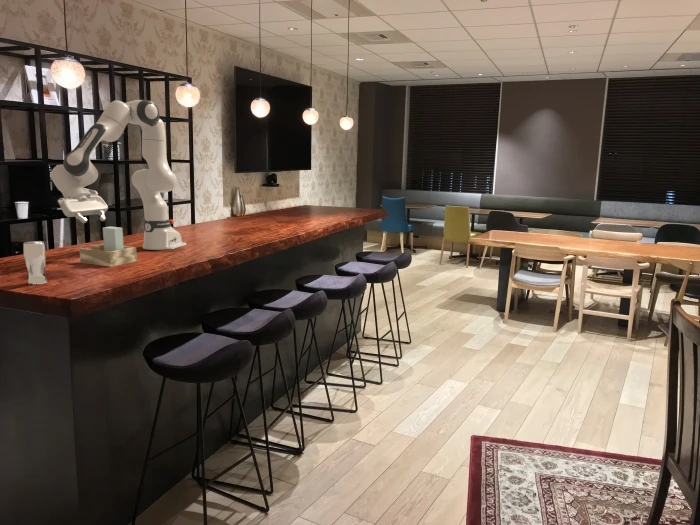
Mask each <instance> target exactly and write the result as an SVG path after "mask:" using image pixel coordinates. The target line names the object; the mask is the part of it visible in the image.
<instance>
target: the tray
mask: <svg viewBox="0 0 700 525" xmlns="http://www.w3.org/2000/svg"><path fill="white" fill-rule="evenodd" d="M123 246H124V249H122V250H116V251H111V252H109V251H101V250H93V249H90V248H83V247H80V248H79V261H80V262H79V263H82V264H89V265H96V266H104V267H109V268H110V267H111V268H112V267H117V266H121V265H126V264H129V263H133V262H137V261H138V256H137V255H138V254H137V247H136V246H129V245H127V246H126V245H123Z"/></svg>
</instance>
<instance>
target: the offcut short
mask: <svg viewBox="0 0 700 525" xmlns="http://www.w3.org/2000/svg"><path fill="white" fill-rule="evenodd" d="M89 247H90V248H89V249H93V250H101V251H104V242H102V243H96V244H91V245H89Z"/></svg>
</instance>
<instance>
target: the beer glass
mask: <svg viewBox="0 0 700 525" xmlns="http://www.w3.org/2000/svg"><path fill="white" fill-rule="evenodd" d="M46 255H47V253H46V247H45V242H44V241H41V240H38V241H36V240H35V241H34V240H33V241H27V242H23V258H24V262H25V266H26V269H27V274H28V279H27V283H28V285H31V284H32V285H34V286H35V285H36V284H37V285H43V284H46V283H48V280H47V276H46V263H47V262H46V261H47V256H46ZM32 285H31V286H32ZM37 285H36V286H37Z"/></svg>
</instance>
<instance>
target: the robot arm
mask: <svg viewBox="0 0 700 525" xmlns="http://www.w3.org/2000/svg"><path fill="white" fill-rule="evenodd" d="M128 125H139V126H140V128H141V155H142V158H143V159H144V160H145V161H146V163H147V166H148V168H142V169H138V170H136V171H135V172H133V174H132V176H131V183H132V185H133V187H134V189H136V190H137V192H138V194H139V195H140V198H141V199H140V200H141V201H142V202H141V203H142V205H143V215H144V216H143V217H144V220H143V227H144V230H143V231H144V233H143V244H142V249H143V250H153V251H155V250H156V251H158V250H159V251H161V250H174V249H177V248H181V247H184V246H186V245H187V242H185V241H183V240H182V235H181V233H180V232H179V231H178V230H177V229H174V227H172V225H173V224H174V223H175V220H174V219H169V215H168V204H167V202H166V201H165V199H163V197H162V195H161V193H168V192H171V191H173V190H175V189H176V187H177V183H178V180H177V176H176V175H175V173H174V172H173V171H172V170H171V167H170V166H169V163H168V159H167V145H166V144H167V139H166V138H167V137H166V128H165V123H164V121H163V120H162V119H161V115H160V111H159V107H158V105H157V104H156V103H155V102H154V101H152V100H147V99H135V100H131V101H129V100H128V101H125V102H124V101H121V100H113V101H111V102H110V103H109V104H108V105H107V106H106V108H105V109H104V110H103V112H102V113H101V115H100V117H98V120H97V121H96V123H95V124H92V126H90V127H89V129H88V130H87V131H86V132H85V134H84V135H83V136H82V138H81V139H80V140H79V142H78V144H77V145H76V146H75V147H74V148H73V149H72V150H71V151H69V152H68V153H67V154H66V155H65V157H64V159H63V161H62V162H63V164H58V165H56V166H54V167H53V169H52V170H51V172H50V176H51V180H52V182H53V184H54V185H55V187H56V189H57V190H58V191H60V193H61V194H62V196H63V197H59V199H57V204H58V205H59V207H60V209H61V211H62V212H63V214H64V216H66V217H67V218H74V217H75V219H76V220H78V221H80V222H81V223H82V224H86V223H87V222H88V219H87V217H86V216H92V215H93V216H94V215H98V216H100V217H99V220H100V221H101V222H105V221H106V219H107V217H106V216H105V213H106V212H107V211H108V210H109V206H108V204H107V203H106V202H105V200H104V199H103V197H102V196H100V195H99V193H98V191H96V190H93V189H89V188H86V187H88V186H90V185H92V184H94V183H95V182H96V181H97V180H98V177H99V170H98V168H97V167H95V165H94V164H93V163H92V162H91V155H92V153H93V151H94V150H95V149H96V147H98V145H99V143H101V142H107V143H109V142H111V143H112V142H116V141H117V140H118V139H119V138H120V137H121V136H122V135H123V133H124V131H125V129H126V126H128ZM84 216H85V217H84ZM171 224H172V225H171Z"/></svg>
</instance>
